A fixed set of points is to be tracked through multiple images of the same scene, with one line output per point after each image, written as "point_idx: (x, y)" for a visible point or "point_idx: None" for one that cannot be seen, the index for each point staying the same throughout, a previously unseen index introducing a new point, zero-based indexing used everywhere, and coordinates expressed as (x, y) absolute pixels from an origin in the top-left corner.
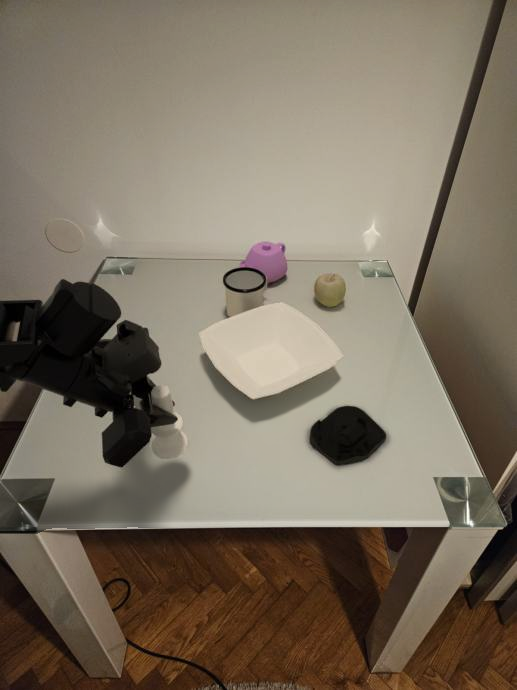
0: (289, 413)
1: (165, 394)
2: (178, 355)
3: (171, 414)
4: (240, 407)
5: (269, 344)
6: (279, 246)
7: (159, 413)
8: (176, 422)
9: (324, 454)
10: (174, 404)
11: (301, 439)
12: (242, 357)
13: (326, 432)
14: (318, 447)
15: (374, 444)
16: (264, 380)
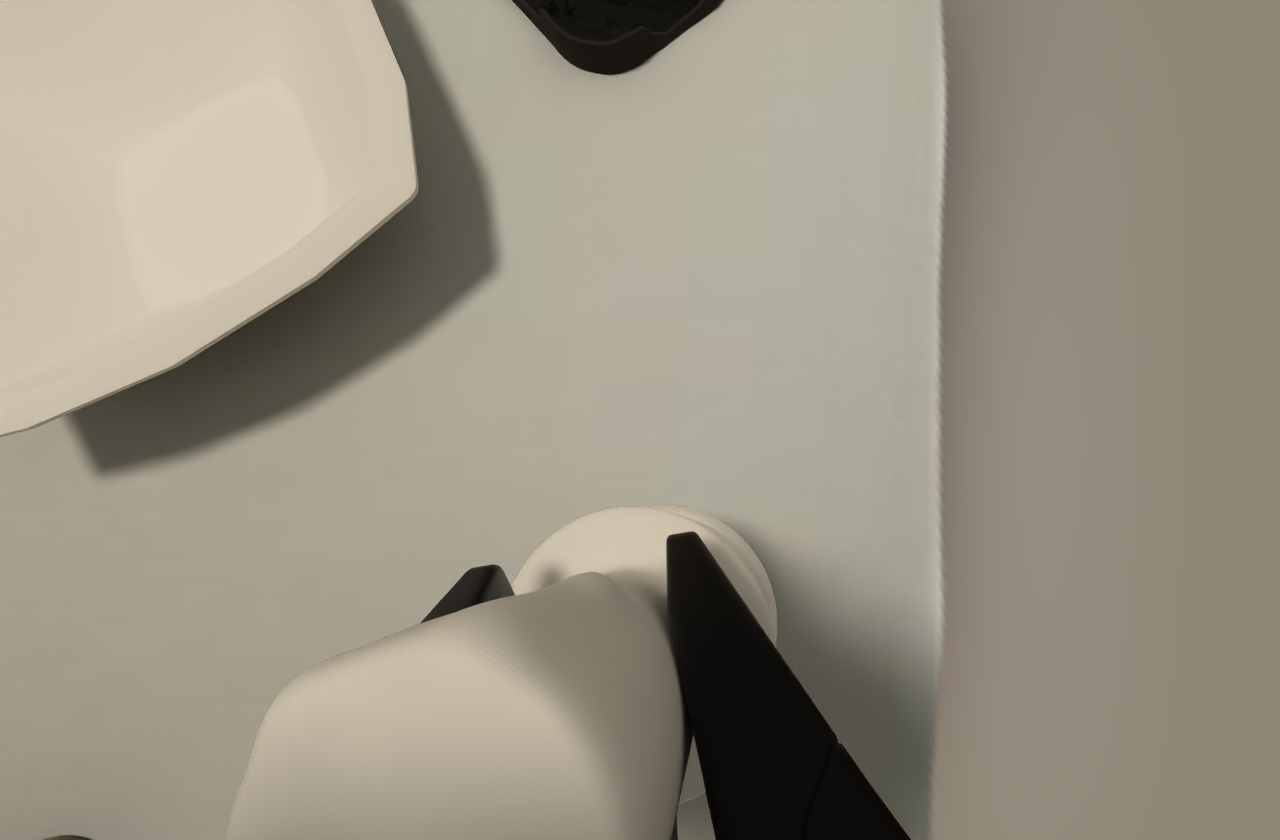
0: (478, 133)
1: (530, 737)
2: (67, 576)
3: (689, 596)
4: (414, 311)
5: (123, 180)
6: None
7: (896, 832)
8: (632, 558)
9: (681, 24)
10: (497, 568)
11: (601, 100)
12: (160, 289)
13: (590, 8)
14: (654, 33)
15: None
16: (302, 208)
